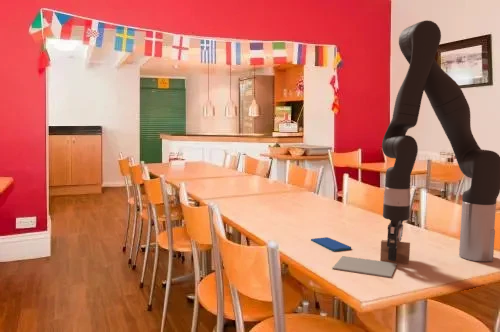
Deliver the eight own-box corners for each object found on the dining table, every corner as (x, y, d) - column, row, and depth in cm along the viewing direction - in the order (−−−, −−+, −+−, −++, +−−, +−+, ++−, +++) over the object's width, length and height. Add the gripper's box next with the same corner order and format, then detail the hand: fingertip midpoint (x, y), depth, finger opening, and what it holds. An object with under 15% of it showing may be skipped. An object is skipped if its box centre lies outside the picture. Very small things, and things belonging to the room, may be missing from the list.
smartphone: (327, 237, 160) (352, 247, 146) (327, 239, 160) (352, 250, 146) (309, 239, 157) (333, 249, 143) (309, 241, 157) (333, 252, 143)
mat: (396, 264, 131) (397, 263, 131) (391, 277, 120) (391, 276, 120) (342, 257, 138) (342, 255, 138) (332, 269, 127) (332, 267, 127)
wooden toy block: (409, 262, 133) (410, 242, 133) (408, 264, 131) (409, 244, 131) (381, 258, 137) (382, 239, 136) (380, 260, 135) (381, 241, 134)
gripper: (407, 208, 124) (404, 265, 126) (412, 199, 137) (409, 251, 139) (379, 205, 127) (377, 261, 129) (387, 197, 140) (384, 248, 142)
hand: (394, 256), depth 134 cm, fingers open, 8 cm apart
